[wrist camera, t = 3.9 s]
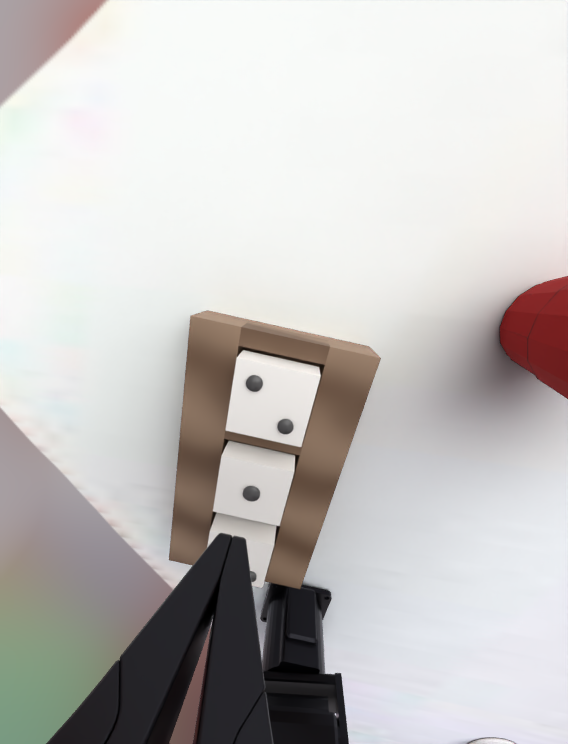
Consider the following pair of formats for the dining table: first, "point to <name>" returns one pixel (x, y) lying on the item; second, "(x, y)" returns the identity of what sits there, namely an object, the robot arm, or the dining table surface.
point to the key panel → (312, 460)
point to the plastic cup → (540, 333)
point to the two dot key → (272, 398)
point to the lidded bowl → (491, 741)
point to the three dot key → (249, 541)
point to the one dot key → (253, 483)
